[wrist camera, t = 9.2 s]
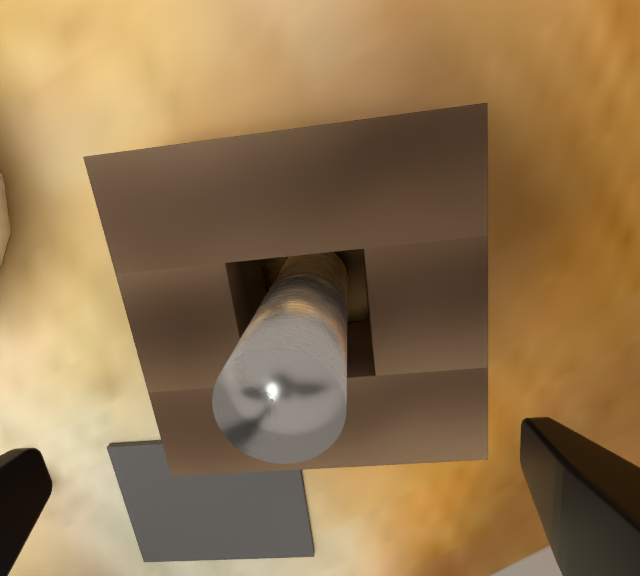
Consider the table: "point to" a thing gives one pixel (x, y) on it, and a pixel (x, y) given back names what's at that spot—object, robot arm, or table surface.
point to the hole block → (310, 238)
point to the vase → (3, 220)
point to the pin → (290, 366)
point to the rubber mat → (210, 509)
